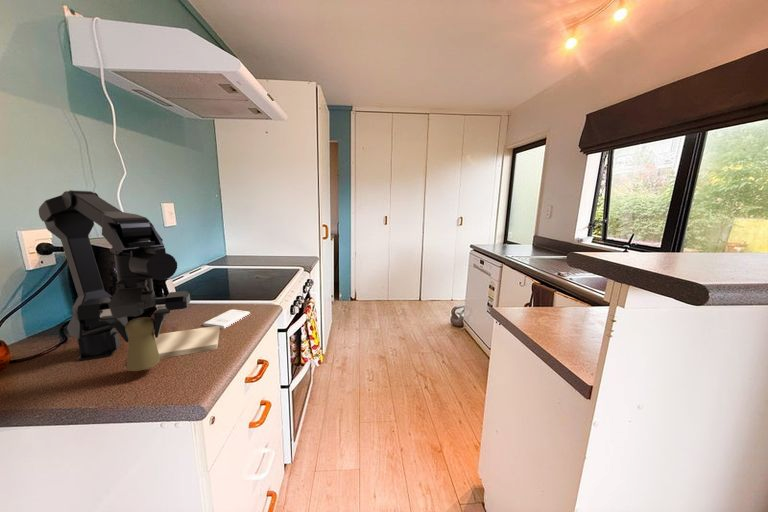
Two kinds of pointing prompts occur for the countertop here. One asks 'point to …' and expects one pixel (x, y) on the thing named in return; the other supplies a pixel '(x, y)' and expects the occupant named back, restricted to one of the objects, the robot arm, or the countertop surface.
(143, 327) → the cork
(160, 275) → the robot arm
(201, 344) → the birch board
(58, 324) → the countertop surface
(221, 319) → the external hard drive
